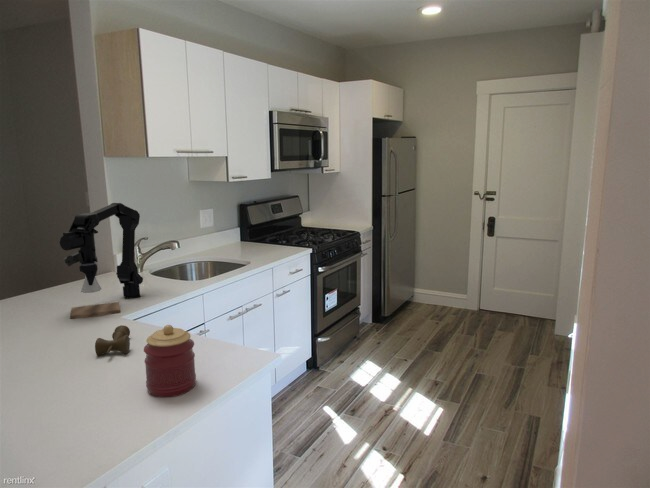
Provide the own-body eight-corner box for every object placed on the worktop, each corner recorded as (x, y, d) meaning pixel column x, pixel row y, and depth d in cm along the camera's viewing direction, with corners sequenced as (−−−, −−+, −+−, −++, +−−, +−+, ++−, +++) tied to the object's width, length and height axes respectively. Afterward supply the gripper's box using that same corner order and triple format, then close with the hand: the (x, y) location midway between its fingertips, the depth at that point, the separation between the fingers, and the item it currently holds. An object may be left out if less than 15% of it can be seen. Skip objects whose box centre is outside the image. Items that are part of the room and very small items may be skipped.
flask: (93, 294, 185) (91, 269, 183) (77, 293, 186) (74, 268, 185) (105, 289, 192) (102, 265, 190) (89, 288, 193) (87, 264, 192)
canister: (159, 374, 134) (155, 316, 131) (203, 376, 133) (200, 317, 130) (137, 397, 122) (132, 333, 119) (185, 399, 120) (181, 334, 117)
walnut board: (119, 304, 200) (118, 301, 200) (120, 312, 190) (120, 309, 190) (71, 310, 193) (71, 307, 192) (70, 319, 182) (70, 316, 182)
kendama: (138, 338, 164) (124, 360, 144) (108, 341, 162) (91, 363, 143) (136, 322, 163) (123, 342, 143) (107, 324, 161) (89, 345, 142)
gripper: (65, 243, 191) (69, 280, 194) (62, 251, 174) (66, 291, 177) (95, 241, 196) (99, 277, 198) (95, 249, 179) (99, 288, 182)
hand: (90, 283), depth 189 cm, fingers closed on flask, 5 cm apart
